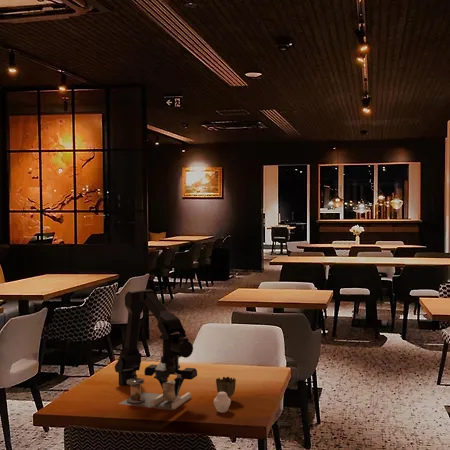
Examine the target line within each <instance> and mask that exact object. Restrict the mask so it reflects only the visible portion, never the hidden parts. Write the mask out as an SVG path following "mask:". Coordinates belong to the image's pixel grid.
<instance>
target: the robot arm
mask: <svg viewBox="0 0 450 450" xmlns="http://www.w3.org/2000/svg"><path fill="white" fill-rule="evenodd" d="M124 306H125V309H126V311H127V312H128V313H127V322H126V333H125V342H124V344H125V345H124V347H123V348H122V349H121V350H120V352H119V356H118V357H119V358H118V360H117V362H116V363H115V365H114V371H115V372H116V373H118V385H120V386H127V387H128V386H130V385H129V384H127V380H128V379H132V378H138V375H137V372H138V371H140V368H141V363H142V353H141V352H140V350H139V349H138V344H139V334H140V328H141V327H140V326H141V315H142V313H143V312H144V310H145V309H146V308H148V309H149V311H150V312H151V314H152V315H153V316H154V318H155V320H156V321H157V326H156V327H157V328H158V330H159V332H160V334H161V335H160V336H159V339H161V340H162V356H161V357H160V362H159V363H158V364H150V365H148V366H146V367H145V368H144V376H147V377H148V376H149V377H152V376H154V377H153V378H154V379H156V380H157V381H158V382H159V385H160V387H161V389H162V391H163V383H165V382H166V381H168V378H170V375H173V376H176V377H175V378H174V380H173V381H175V396H177V395H178V393H179V394H180V390H181V387H182V385H183V382H184V381H185V380H190V381H191V380H193V379H194V378H196V377H198V370H197V369H196V368H194V367H186V368H184V369H181V365H180V364H179V359H180V358H181V357H182V358H185V359H186V358H190V356H192V354H193V351H194V346H193V344H192V343H191V342H190V341H189V338H188V337H187V334H186V330H185V328H184V326H183V324H182V321H181V320H180V319H179V317H178V316H176V315H175V314H174V313H171V312H169V310H167V308H166V307H165V306H164V304H163V303H162V302H161V300H160V299H159V298H158V297H157V295H156V293H155V290H154V289H153V290H152V289H143V290H142V289H141V290H132V291H131V290H130V291H127V292H126V293H125V296H124Z"/></svg>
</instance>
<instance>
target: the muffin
mask: <svg viewBox="0 0 450 450" xmlns="http://www.w3.org/2000/svg"><path fill="white" fill-rule="evenodd" d="M212 402H213V404H214V407H215V408H216V412H219V413H227V412H228V409H229V408H230V405H231V404H232V403H231V402H232V400H230V398H228V396H227V393H226V392H219V393H218V392H217V394H216V397H215V398H213V401H212Z"/></svg>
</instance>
